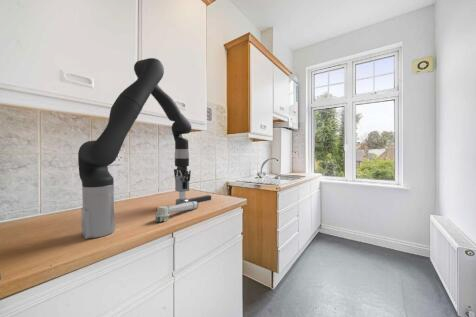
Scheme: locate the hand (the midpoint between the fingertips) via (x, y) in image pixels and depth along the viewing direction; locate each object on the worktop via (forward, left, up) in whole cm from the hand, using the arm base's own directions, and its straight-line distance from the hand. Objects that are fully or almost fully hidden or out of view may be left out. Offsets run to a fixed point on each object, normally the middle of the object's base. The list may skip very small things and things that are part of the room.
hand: (182, 188), depth 110 cm
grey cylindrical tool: (-10, -14, -10) cm, 20 cm away
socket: (0, 0, -1) cm, 1 cm away
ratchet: (+8, 0, -9) cm, 12 cm away
